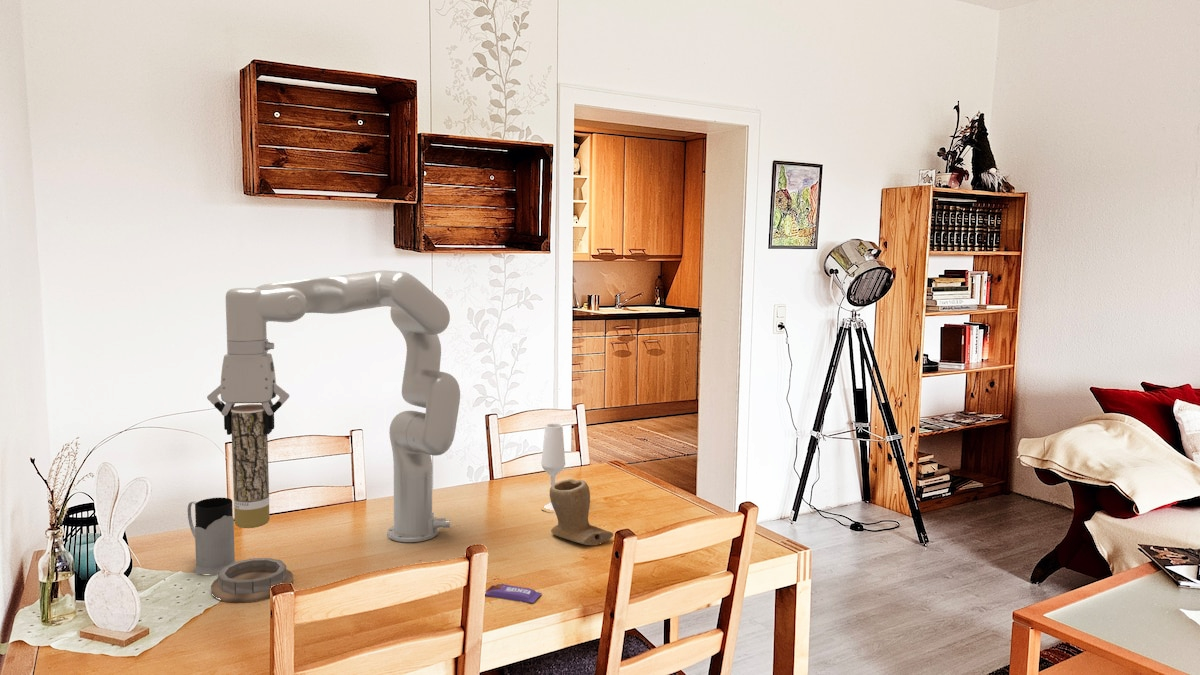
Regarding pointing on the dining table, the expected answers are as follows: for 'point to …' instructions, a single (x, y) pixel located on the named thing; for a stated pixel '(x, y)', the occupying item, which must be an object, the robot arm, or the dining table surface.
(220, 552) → the glass holder
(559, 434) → the champagne flute
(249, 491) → the paper tube
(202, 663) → the dining table surface
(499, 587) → the snack package
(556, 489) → the clay pipe bowl
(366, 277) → the robot arm
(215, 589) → the roll stand
